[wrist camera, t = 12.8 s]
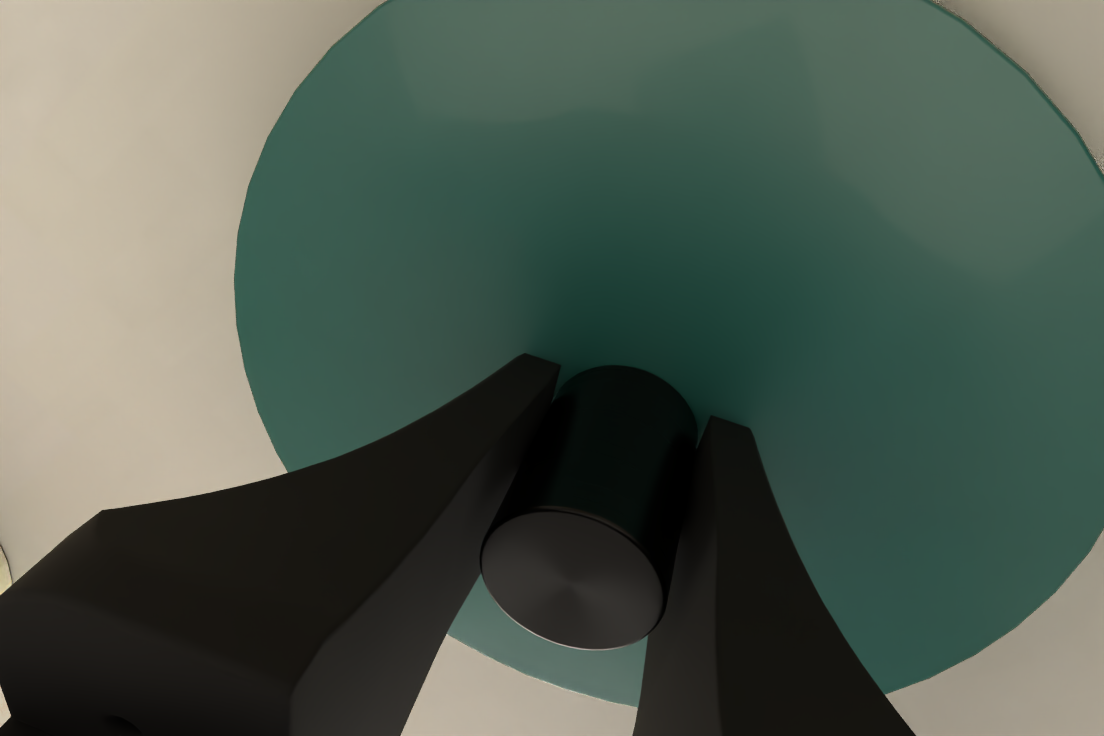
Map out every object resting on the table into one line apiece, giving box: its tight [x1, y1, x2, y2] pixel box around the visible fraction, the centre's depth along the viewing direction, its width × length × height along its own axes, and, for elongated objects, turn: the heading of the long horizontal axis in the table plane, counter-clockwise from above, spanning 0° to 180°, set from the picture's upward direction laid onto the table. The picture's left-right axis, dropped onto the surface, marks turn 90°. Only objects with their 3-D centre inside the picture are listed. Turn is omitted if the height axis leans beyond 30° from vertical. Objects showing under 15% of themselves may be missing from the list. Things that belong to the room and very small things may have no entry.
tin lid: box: [234, 0, 1104, 708], centre depth 11 cm, size 14×14×4 cm
